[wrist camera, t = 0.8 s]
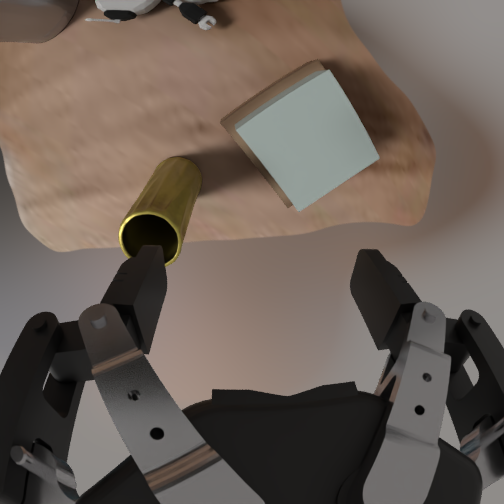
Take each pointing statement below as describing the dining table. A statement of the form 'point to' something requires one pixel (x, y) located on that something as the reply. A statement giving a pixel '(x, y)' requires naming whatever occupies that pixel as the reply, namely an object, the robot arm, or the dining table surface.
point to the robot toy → (136, 3)
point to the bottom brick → (255, 103)
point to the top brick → (309, 138)
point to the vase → (162, 210)
